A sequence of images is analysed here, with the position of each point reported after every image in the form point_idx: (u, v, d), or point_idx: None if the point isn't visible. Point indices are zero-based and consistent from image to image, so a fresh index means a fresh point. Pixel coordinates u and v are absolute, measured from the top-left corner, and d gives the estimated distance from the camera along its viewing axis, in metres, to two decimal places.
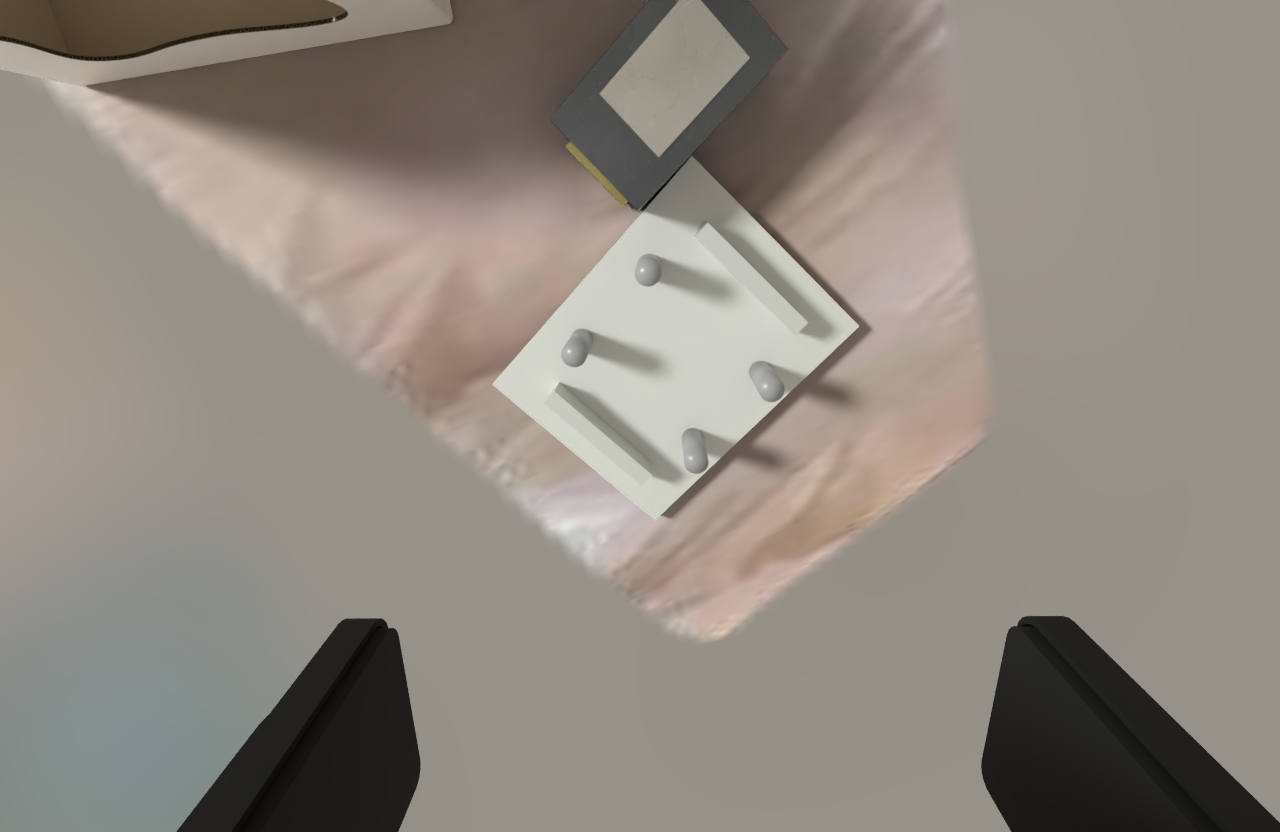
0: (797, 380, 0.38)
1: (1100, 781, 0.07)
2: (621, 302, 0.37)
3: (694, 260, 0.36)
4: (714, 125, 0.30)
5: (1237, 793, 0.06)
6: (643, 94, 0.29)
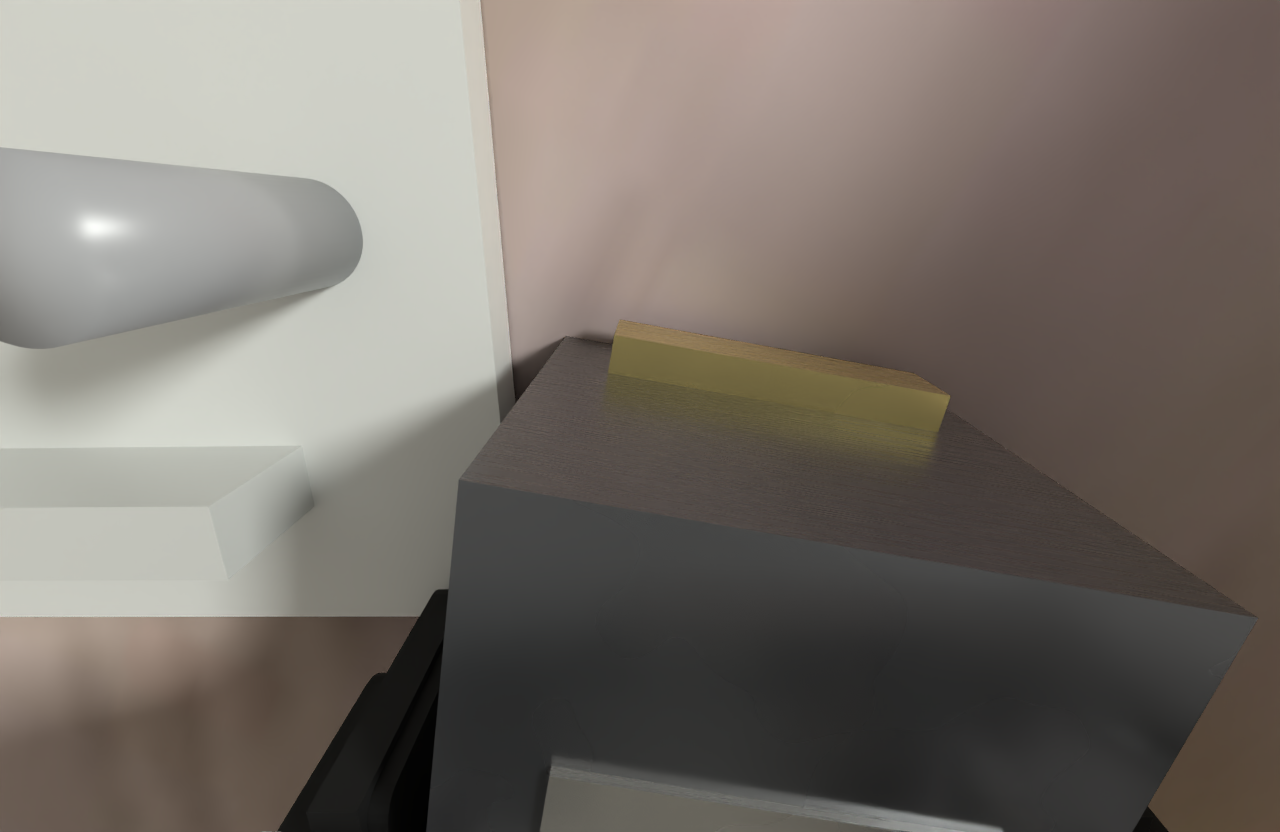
0: None
1: None
2: (249, 2, 0.07)
3: (217, 384, 0.09)
4: None
5: None
6: None
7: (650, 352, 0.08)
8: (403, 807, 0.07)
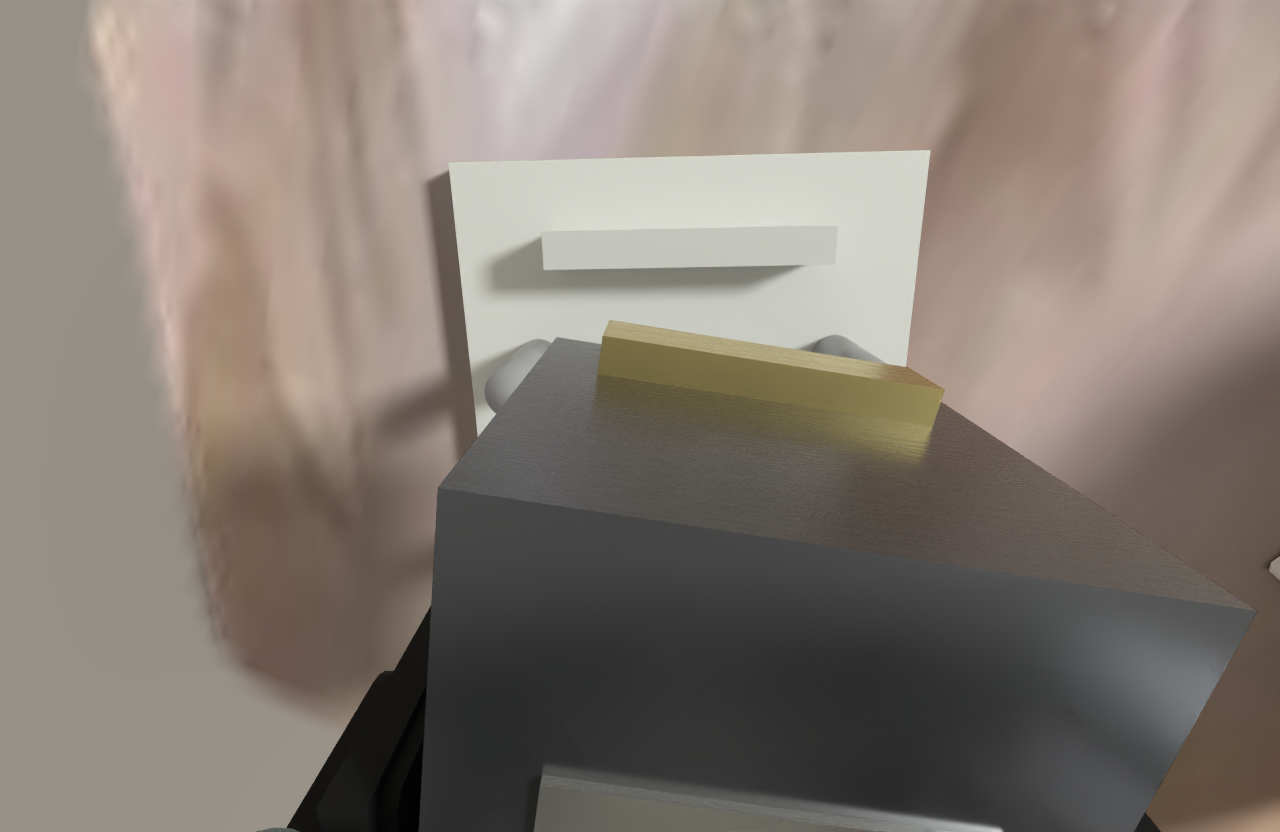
0: None
1: None
2: None
3: None
4: None
5: None
6: None
7: (639, 352, 0.08)
8: (412, 804, 0.07)
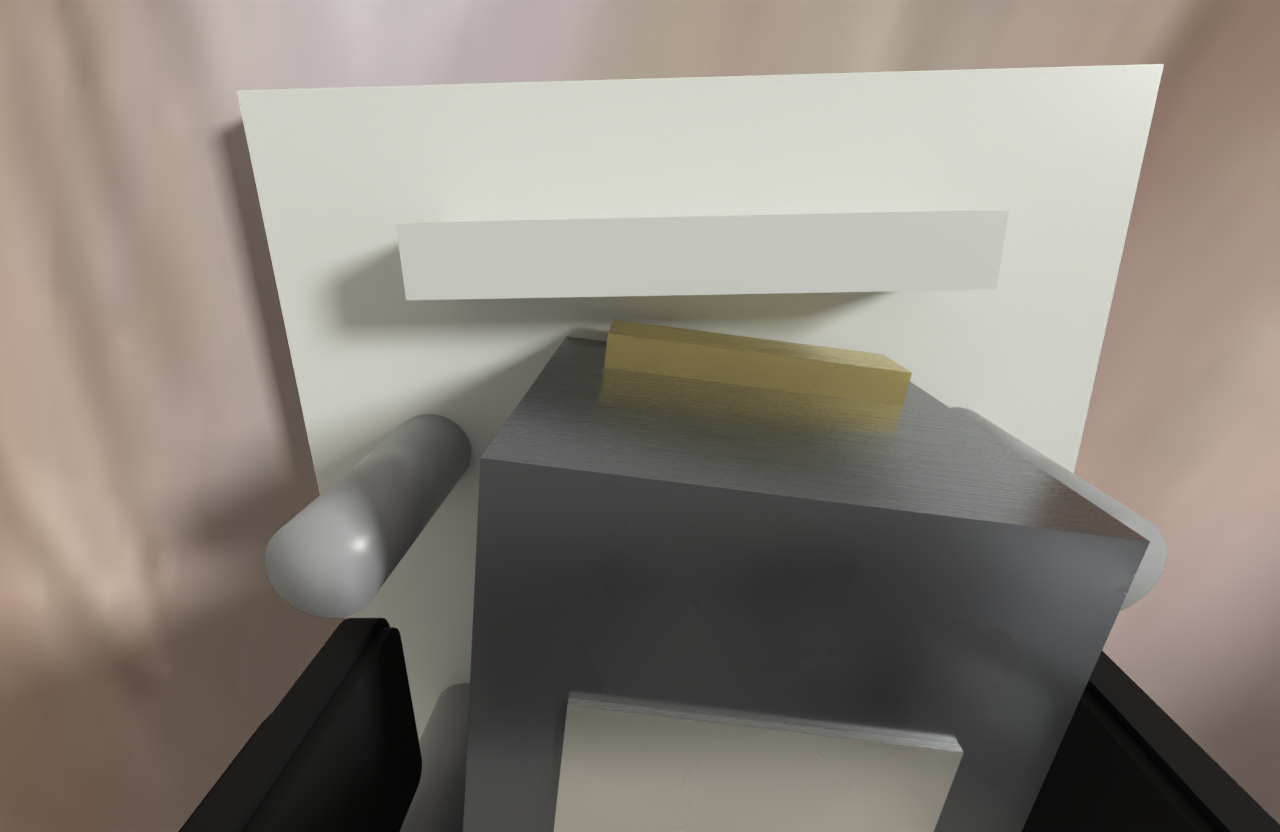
0: None
1: (1097, 779, 0.07)
2: None
3: None
4: None
5: (1233, 791, 0.06)
6: (783, 831, 0.07)
7: (640, 347, 0.09)
8: None
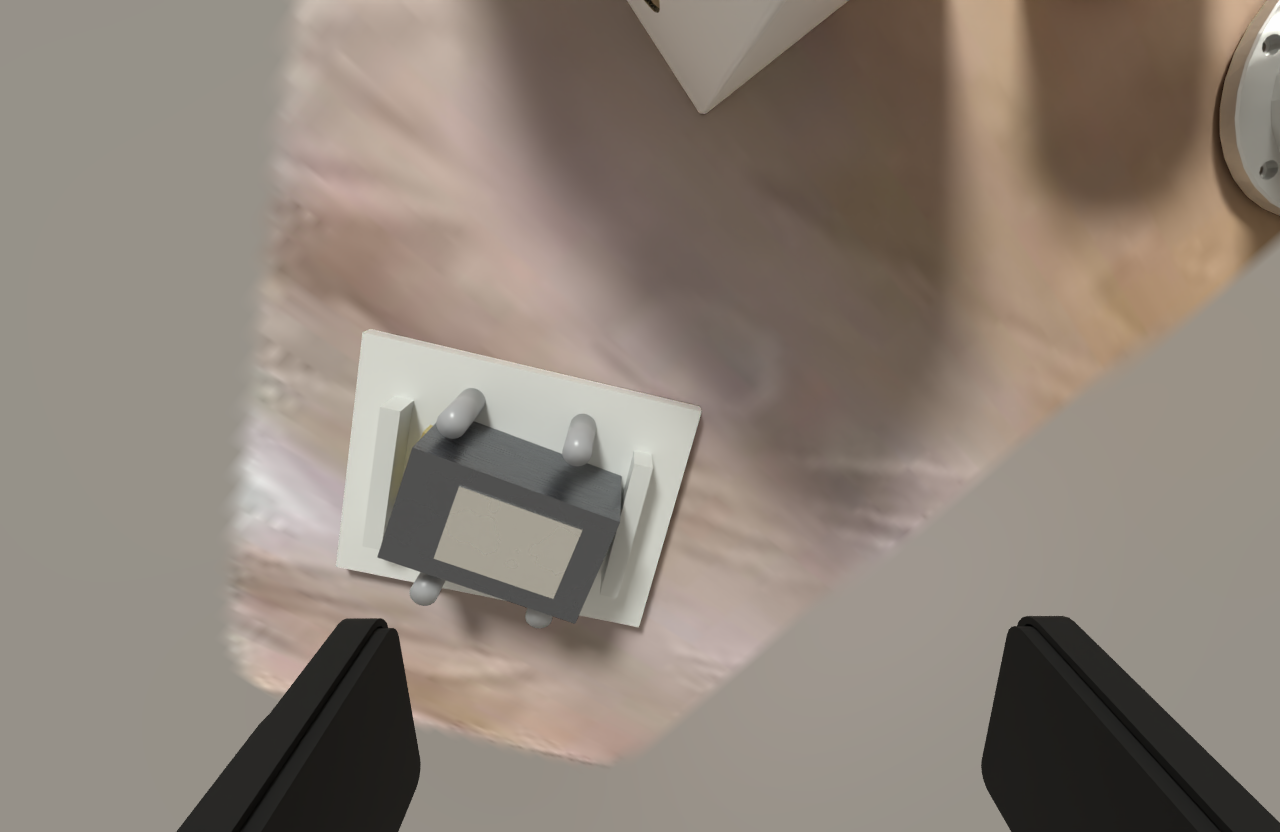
0: None
1: (1100, 781, 0.07)
2: (533, 418, 0.33)
3: (612, 463, 0.34)
4: (486, 592, 0.30)
5: (1236, 793, 0.06)
6: (480, 523, 0.29)
7: None
8: None
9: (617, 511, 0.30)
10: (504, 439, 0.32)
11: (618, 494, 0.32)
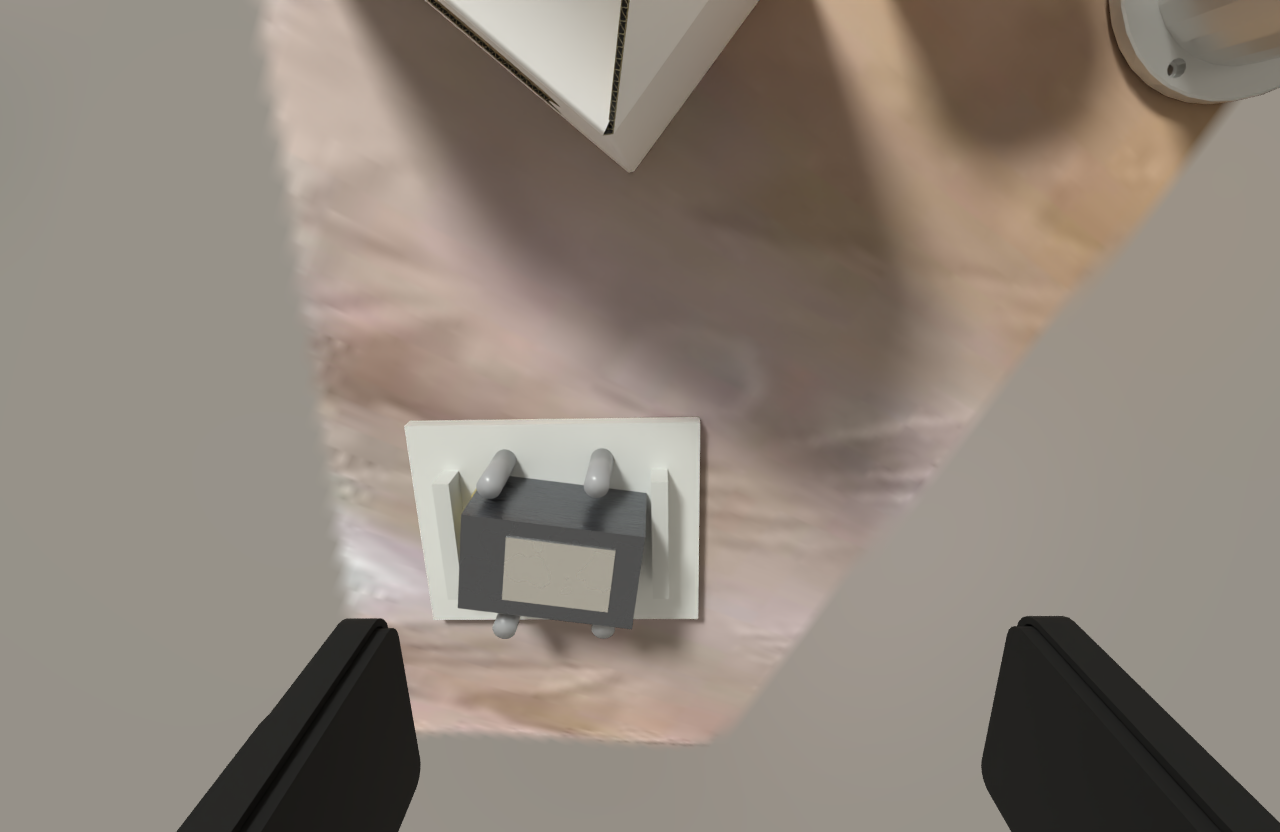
0: None
1: (1100, 781, 0.07)
2: (559, 462, 0.38)
3: (635, 484, 0.38)
4: (551, 618, 0.35)
5: (1237, 793, 0.06)
6: (531, 563, 0.34)
7: None
8: None
9: (642, 527, 0.34)
10: (538, 486, 0.37)
11: (643, 511, 0.36)
